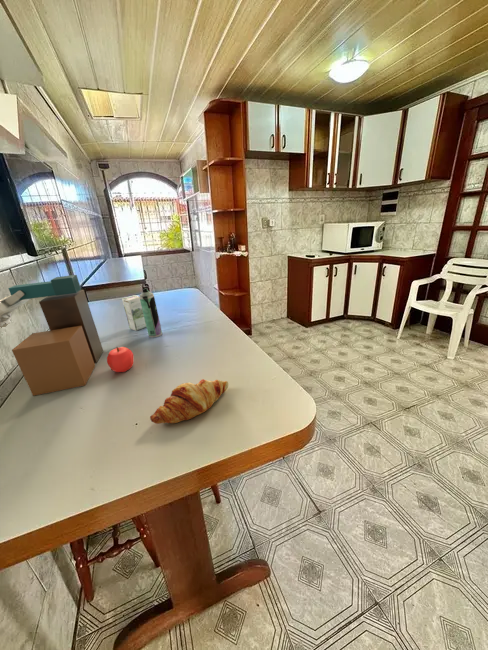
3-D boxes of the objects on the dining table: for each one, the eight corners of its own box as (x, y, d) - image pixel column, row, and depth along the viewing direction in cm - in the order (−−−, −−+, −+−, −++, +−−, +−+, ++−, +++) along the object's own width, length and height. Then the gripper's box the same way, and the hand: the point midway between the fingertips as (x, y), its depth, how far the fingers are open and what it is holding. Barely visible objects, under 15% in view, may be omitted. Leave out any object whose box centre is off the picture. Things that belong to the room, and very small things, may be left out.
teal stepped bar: (12, 301, 82) (5, 285, 80) (20, 297, 86) (14, 282, 85) (76, 292, 86) (71, 277, 84) (81, 289, 90) (76, 274, 88)
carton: (32, 395, 77) (11, 350, 71) (49, 374, 88) (32, 333, 82) (85, 385, 80) (68, 340, 74) (95, 366, 91) (81, 325, 85)
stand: (65, 369, 91) (38, 301, 82) (74, 355, 100) (51, 293, 91) (96, 363, 93) (74, 296, 84) (103, 350, 102) (83, 289, 93)
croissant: (223, 394, 76) (213, 368, 76) (242, 393, 68) (230, 364, 68) (151, 433, 63) (139, 401, 64) (163, 438, 55) (150, 402, 55)
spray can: (163, 335, 111) (153, 288, 103) (150, 338, 108) (139, 291, 101) (160, 331, 115) (150, 285, 108) (147, 334, 113) (136, 288, 105)
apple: (126, 376, 83) (119, 353, 80) (104, 374, 85) (97, 352, 82) (141, 363, 90) (135, 341, 87) (120, 362, 92) (114, 341, 89)
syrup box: (140, 324, 125) (133, 294, 119) (147, 326, 121) (140, 296, 116) (129, 328, 121) (121, 298, 115) (136, 331, 117) (128, 299, 112)
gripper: (18, 313, 95) (49, 290, 95) (-18, 335, 76) (20, 306, 76) (2, 300, 92) (33, 275, 92) (-40, 319, 74) (-1, 289, 74)
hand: (27, 289), depth 84 cm, fingers closed on teal stepped bar, 4 cm apart
